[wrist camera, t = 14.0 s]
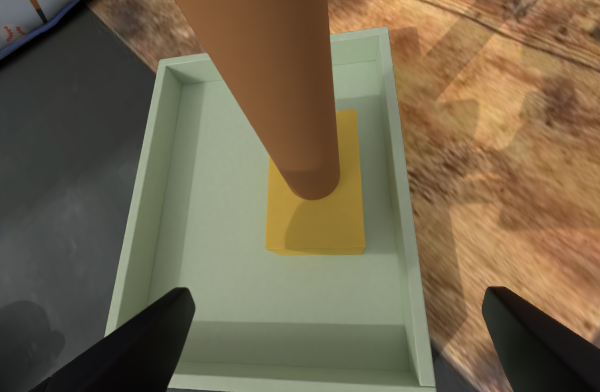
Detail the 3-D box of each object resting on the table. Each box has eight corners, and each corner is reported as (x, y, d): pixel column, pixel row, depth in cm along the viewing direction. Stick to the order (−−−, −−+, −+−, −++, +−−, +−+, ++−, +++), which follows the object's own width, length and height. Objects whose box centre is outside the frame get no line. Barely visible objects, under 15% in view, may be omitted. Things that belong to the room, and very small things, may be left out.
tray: (420, 381, 13) (439, 405, 10) (137, 366, 15) (94, 383, 13) (382, 61, 19) (388, 25, 16) (182, 86, 21) (159, 59, 19)
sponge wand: (362, 254, 15) (433, 95, 2) (280, 255, 15) (5, 137, 3) (355, 138, 17) (372, -261, 4) (283, 143, 17) (130, -186, 5)
